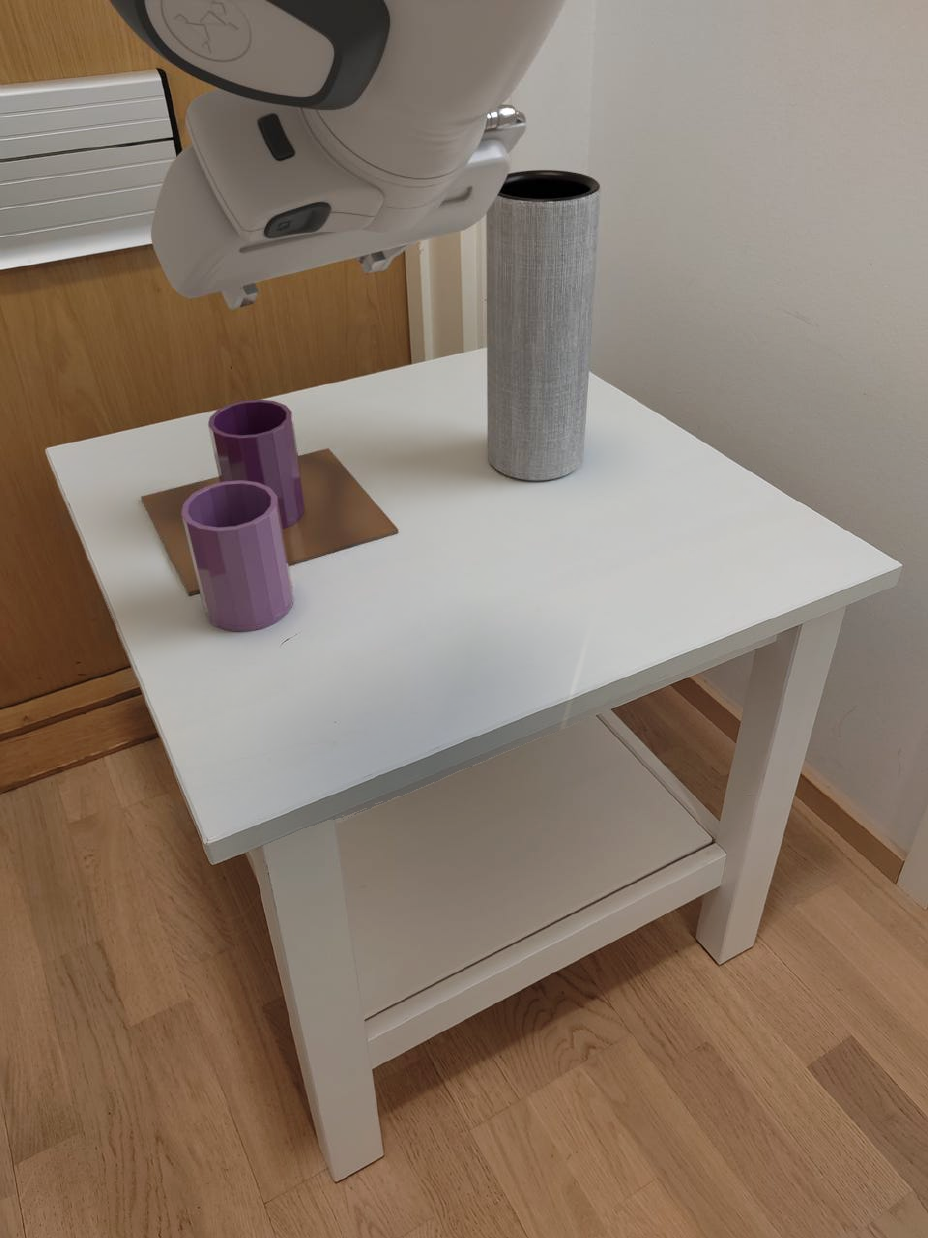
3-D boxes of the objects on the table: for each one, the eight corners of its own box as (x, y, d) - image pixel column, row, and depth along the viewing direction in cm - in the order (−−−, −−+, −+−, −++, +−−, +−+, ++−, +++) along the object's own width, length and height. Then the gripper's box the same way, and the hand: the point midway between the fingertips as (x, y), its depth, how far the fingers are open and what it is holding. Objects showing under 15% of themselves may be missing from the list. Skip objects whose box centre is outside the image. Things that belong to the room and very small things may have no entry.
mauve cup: (190, 624, 80) (164, 523, 73) (230, 573, 85) (208, 475, 79) (271, 637, 78) (252, 536, 72) (306, 585, 84) (291, 486, 77)
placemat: (189, 595, 83) (188, 592, 82) (141, 499, 95) (140, 496, 95) (398, 532, 90) (398, 529, 89) (328, 451, 102) (328, 447, 102)
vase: (547, 427, 105) (557, 163, 89) (602, 465, 99) (624, 187, 82) (470, 451, 102) (465, 180, 85) (521, 492, 95) (527, 207, 78)
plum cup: (214, 527, 90) (193, 432, 84) (248, 487, 96) (231, 395, 90) (286, 538, 89) (270, 441, 82) (317, 497, 94) (304, 404, 88)
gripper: (513, 50, 52) (420, 201, 64) (154, 104, 42) (126, 268, 55) (564, 155, 52) (461, 285, 64) (215, 232, 42) (174, 367, 55)
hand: (304, 278), depth 59 cm, fingers open, 8 cm apart
